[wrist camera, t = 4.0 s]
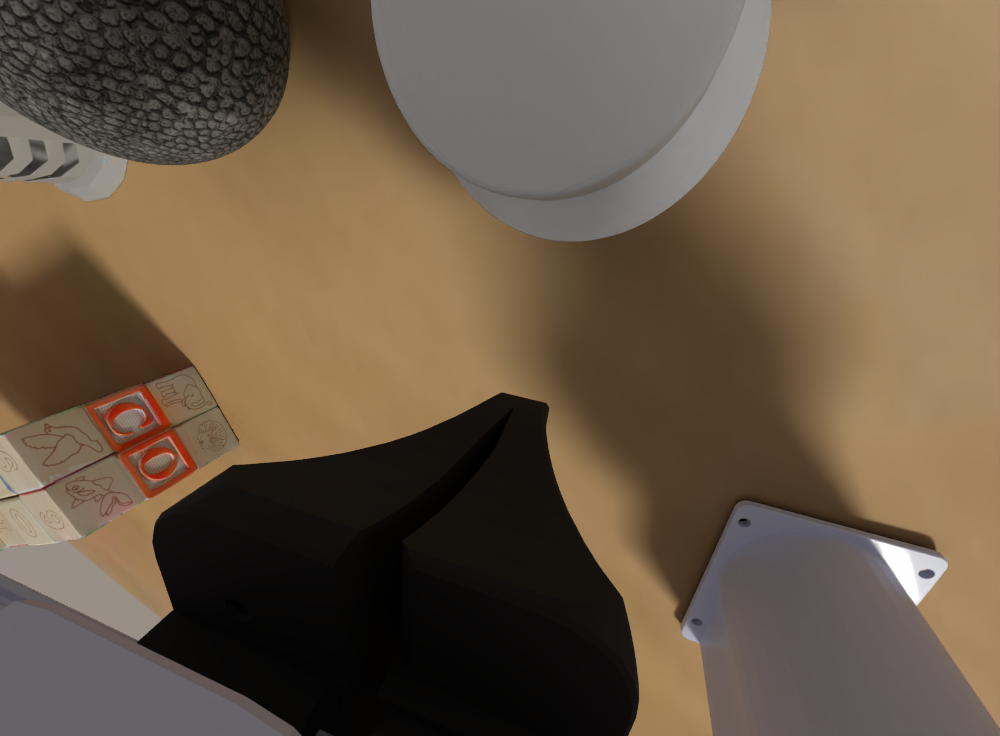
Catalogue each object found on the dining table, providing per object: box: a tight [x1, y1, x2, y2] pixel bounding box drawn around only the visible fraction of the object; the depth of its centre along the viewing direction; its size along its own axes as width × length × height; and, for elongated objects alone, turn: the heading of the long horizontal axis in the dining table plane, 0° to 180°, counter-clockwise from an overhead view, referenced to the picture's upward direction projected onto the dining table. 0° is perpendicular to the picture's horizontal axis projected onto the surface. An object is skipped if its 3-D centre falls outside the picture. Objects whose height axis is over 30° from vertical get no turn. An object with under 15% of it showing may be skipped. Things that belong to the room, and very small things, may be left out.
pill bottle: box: [371, 0, 772, 242], centre depth 10 cm, size 6×6×12 cm
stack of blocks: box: [0, 366, 239, 551], centre depth 26 cm, size 21×6×12 cm, turn 111°
